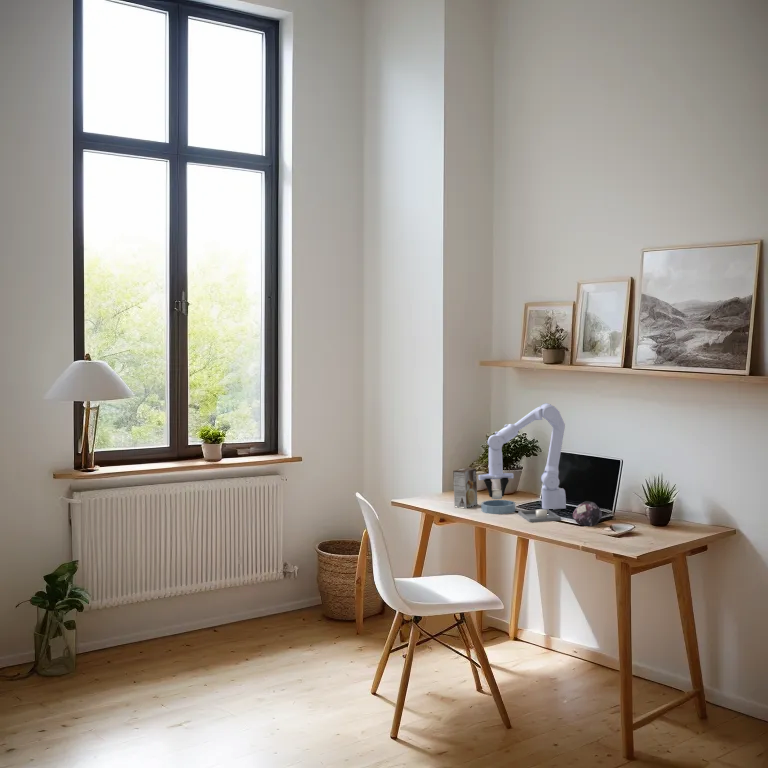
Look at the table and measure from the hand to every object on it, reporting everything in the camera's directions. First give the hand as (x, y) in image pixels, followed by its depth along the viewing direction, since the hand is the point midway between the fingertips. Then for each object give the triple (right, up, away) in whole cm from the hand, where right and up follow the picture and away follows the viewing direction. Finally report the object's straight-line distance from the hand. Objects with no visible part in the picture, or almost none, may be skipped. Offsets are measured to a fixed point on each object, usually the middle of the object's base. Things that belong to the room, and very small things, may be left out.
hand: (496, 496), depth 361 cm
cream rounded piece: (+15, -6, -21) cm, 26 cm away
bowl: (+1, -7, -2) cm, 7 cm away
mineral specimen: (+30, -7, -32) cm, 45 cm away
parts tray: (+15, -7, -18) cm, 24 cm away
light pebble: (0, -1, 0) cm, 1 cm away
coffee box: (-11, -6, +14) cm, 19 cm away
